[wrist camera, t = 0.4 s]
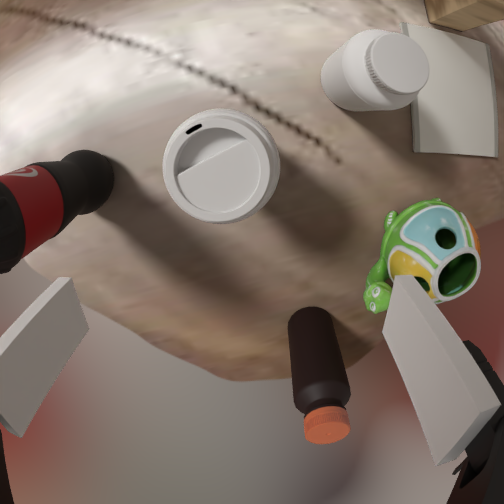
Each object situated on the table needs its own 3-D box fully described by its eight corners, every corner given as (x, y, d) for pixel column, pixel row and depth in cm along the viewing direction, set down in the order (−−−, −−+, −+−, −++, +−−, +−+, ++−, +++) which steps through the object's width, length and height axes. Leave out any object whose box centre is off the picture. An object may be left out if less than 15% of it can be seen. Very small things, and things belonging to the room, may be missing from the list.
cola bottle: (74, 142, 35) (-114, 210, 8) (124, 153, 36) (-78, 241, 8) (68, 198, 38) (-92, 305, 11) (114, 212, 39) (-45, 351, 12)
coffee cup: (272, 111, 33) (278, 102, 19) (276, 188, 37) (284, 229, 23) (193, 117, 34) (148, 116, 20) (200, 192, 38) (164, 235, 24)
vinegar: (303, 298, 43) (322, 411, 25) (339, 315, 44) (372, 422, 26) (279, 330, 46) (283, 442, 28) (315, 345, 47) (332, 451, 29)
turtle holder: (332, 238, 39) (355, 283, 29) (441, 179, 35) (492, 203, 24) (364, 304, 44) (387, 357, 33) (459, 250, 39) (502, 288, 28)
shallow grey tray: (399, 23, 27) (401, 21, 26) (486, 44, 25) (488, 44, 25) (412, 151, 34) (415, 152, 33) (495, 156, 33) (498, 157, 32)
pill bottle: (332, 119, 33) (375, 118, 19) (310, 59, 30) (338, 21, 16) (389, 105, 32) (455, 102, 18) (368, 47, 29) (423, 13, 15)
